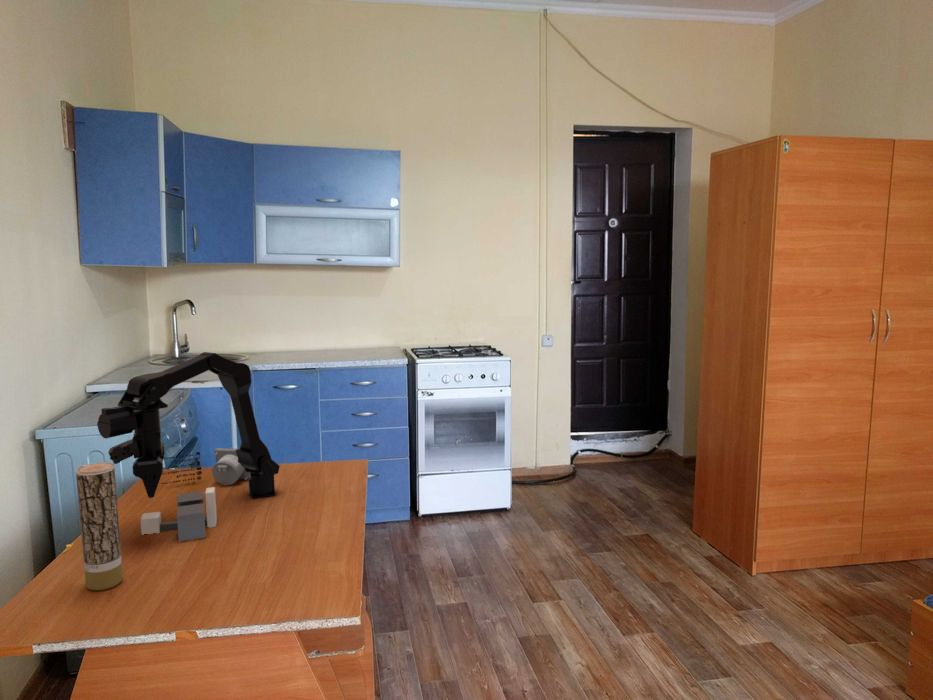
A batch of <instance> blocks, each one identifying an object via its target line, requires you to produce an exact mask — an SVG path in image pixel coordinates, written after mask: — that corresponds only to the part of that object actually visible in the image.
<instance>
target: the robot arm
mask: <svg viewBox="0 0 933 700" xmlns="http://www.w3.org/2000/svg"><path fill="white" fill-rule="evenodd" d="M208 371H209V372H211V373H213V374H215V375H216V376H217V377H218V379H219V381H220V384H221V385H222V387H223V389H224V390H225V391H226V392H227V393H228V395H229V397H230V401H231V405H232V409H233V412H234V416H235V421H236V426H237V428H238V433H239V436H240V440H241V443H240V447H239V448H236V449H237V450H236V454H237V456H238V463H240V464H241V465H242V466H243V467H244V468H245V471H246V472H249V473H250V478H248V480H247V482H248V493H249V495H250V496H251V498H252V499H256V498H257V499H258V498H265V497H266V498H267V497H272V496H276V494H277V493H276V491H275V489H276V488H275V486H276V485H275V475H276V474H278V473H279V471H280V467H281V466H280V465H279V464H278V463H277V462H275V460H273V459H272V455H271V454H270V450H269V449H268V448H269V447H268V446H267V445H266V444H265V443H264V441H262V439H261V437H260V434H259V430H258V426H257V422H256V418H255V417H256V416H255V413H254V409H253V405H252V400H251V396H250V392H249V391H250V388H251V386H252V373H251V368H250V366H249V365H248V364H246V363H245V362H239V361H238V362H237V361H233V360H230V359H228V358H225V357H223V356H221V355H220V354H218V353H216V352H208V351H205V352H201V353H200V354H199V355H197V356H194V357H192V358H190V359H188V360H186V361H183V362H181V363H178V364H176V365H174V366H172V367H168V368H166V369H165V370H162V371H159V372H151V373H146V374H141V375H137V376H134V377H132V378H131V379H129V380H128V383H127V386H126V387H127V388H126V390H125V392H124V393H123V395H122V397H121V398H120V400H119V402H118V403H117V406H112V407H104V408H101V414H100V415H99V416H98V418H97V419H98V420H97V422H96V423H97V424H96V425H97V429H98V433H99V434H100V437H102V438H103V439H109V438H115V437H118V436H124V435H127V434H128V435H129V434H131V433H132V432H133V431H134V432H133V436H132V439H131V438H130V440H129V439H128V440H126V441H123V442H121V443H119V444H117V445H114V446H112V447H110V448H109V450H108V455H109V460H111V461H112V462H113V463H112V464H114V465H117V464H119V463H121V462H122V461H124V460H127V459H129V458H131V457H133V459H136V460H134V462H133V464H132V475H134V476H135V477H136V478H139V479H140V480H142V481H141V482H142V483H143V486H144V488H145V492H146V494H147V498H149V499H152V498H155V494H156V491H157V488H158V487H159V483H160V480H161V478H162V473H164V471H163V470H164V460H165V449H166V448H165V443H164V442H162V429H161V428H162V427H161V417H160V416H161V415H160V410H162V409H166V408H168V407H169V405H168V404H167V403H166V402H164V401H163V400H162V399H161V398H163V397H164V396H166V395H167V394H168V393H169V392H170V391H171V389H172V388H174V387H175V386H178V385H179V384H182V383H184V382H186V381H189V380H191V379H192V378H195V377H197V376H199V375H201V374H204V373H205V372H208ZM134 400H135V401H134Z"/></svg>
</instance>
